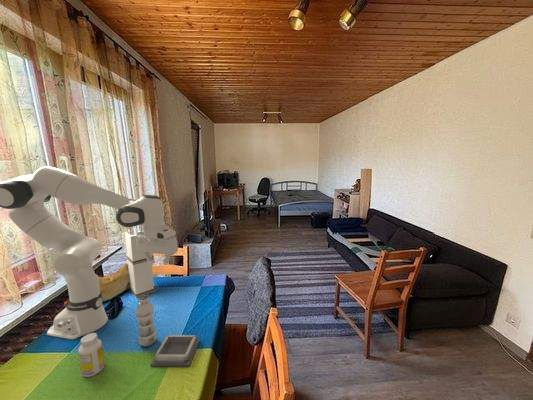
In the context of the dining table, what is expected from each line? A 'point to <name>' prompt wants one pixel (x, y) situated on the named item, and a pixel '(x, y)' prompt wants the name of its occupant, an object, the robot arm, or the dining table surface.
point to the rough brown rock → (114, 283)
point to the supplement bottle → (91, 355)
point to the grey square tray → (176, 351)
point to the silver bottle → (145, 322)
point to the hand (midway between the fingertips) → (157, 262)
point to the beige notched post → (139, 269)
